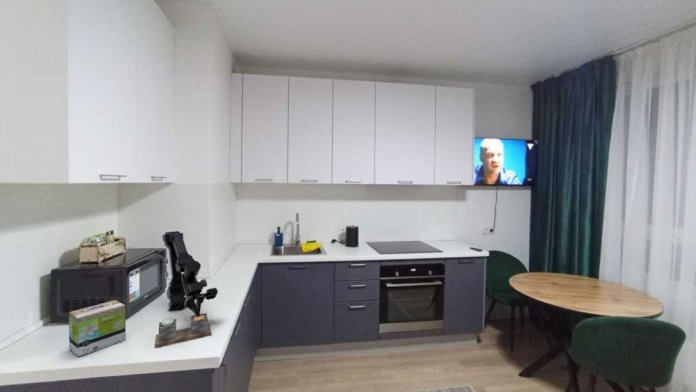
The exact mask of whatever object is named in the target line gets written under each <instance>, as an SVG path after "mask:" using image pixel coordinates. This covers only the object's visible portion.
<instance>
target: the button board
mask: <svg viewBox="0 0 696 392" xmlns="http://www.w3.org/2000/svg"><path fill="white" fill-rule="evenodd" d="M200 315H204V316H205V318H204V319H199V320H194V317H195V316H196V315H195V314H194V315H190V327H186V328H181V329H177V318H173V319H174V325H170V326H165V327H162V323H161V322H162V321H159V322H158V334H155V338H154V349H158V348H161V347H162V346H163V347H165V346H166V347H167V346H171V345H175V344H179V343H183V342H188V341H192V340H197V339H201V338H206V337H209V336H212V334H213V333H212V328H211V325H210V323H208V322H209V321H208V320H209V318H208V313H207V312H204V313H200Z"/></svg>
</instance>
